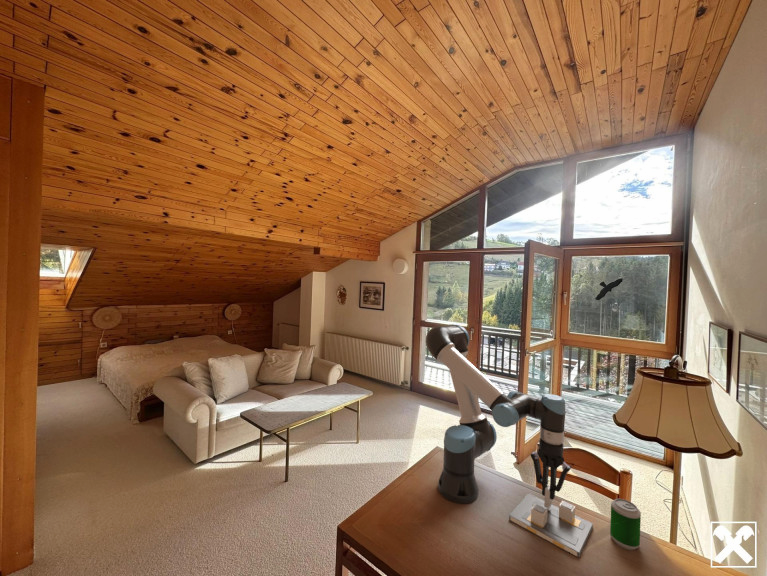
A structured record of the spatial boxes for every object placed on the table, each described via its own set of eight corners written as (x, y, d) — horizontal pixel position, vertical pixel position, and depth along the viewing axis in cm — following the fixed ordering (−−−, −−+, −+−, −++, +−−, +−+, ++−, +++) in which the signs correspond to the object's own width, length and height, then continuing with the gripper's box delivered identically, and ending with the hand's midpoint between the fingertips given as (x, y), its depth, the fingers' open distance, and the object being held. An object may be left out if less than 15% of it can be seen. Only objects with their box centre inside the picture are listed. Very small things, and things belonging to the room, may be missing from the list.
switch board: (508, 520, 109) (508, 515, 109) (528, 497, 122) (528, 492, 122) (578, 558, 95) (578, 552, 95) (592, 528, 107) (592, 522, 107)
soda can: (645, 554, 97) (646, 515, 97) (617, 549, 98) (618, 510, 98) (631, 535, 104) (632, 498, 104) (605, 531, 106) (606, 495, 106)
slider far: (558, 516, 109) (559, 504, 109) (561, 512, 111) (562, 499, 111) (571, 523, 106) (572, 510, 106) (574, 518, 109) (575, 505, 109)
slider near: (530, 520, 107) (531, 507, 107) (534, 515, 109) (535, 503, 109) (543, 527, 104) (543, 514, 104) (547, 521, 106) (547, 509, 106)
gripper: (528, 436, 115) (524, 501, 115) (568, 451, 105) (564, 521, 106) (535, 430, 120) (532, 492, 120) (575, 443, 111) (571, 510, 111)
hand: (547, 505), depth 113 cm, fingers closed
